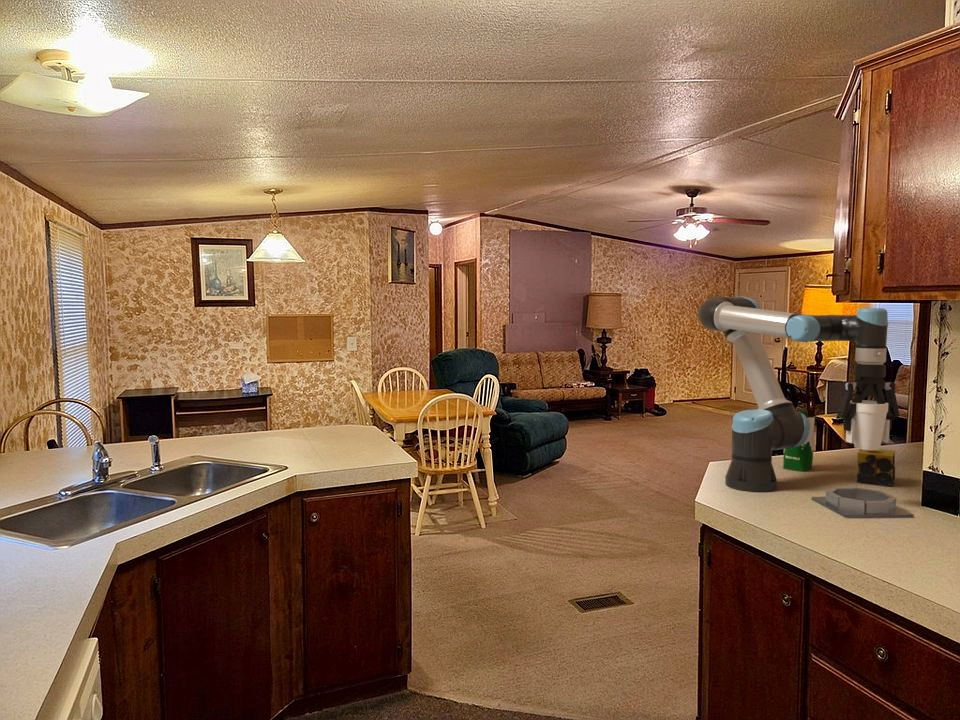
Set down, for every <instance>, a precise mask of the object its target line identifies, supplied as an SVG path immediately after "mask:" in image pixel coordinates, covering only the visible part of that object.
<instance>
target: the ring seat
mask: <svg viewBox="0 0 960 720" xmlns="http://www.w3.org/2000/svg"><path fill="white" fill-rule="evenodd" d="M811 500H812V501H814V502H815V503H817V504H819V505H821V506H822V507H825V508H827V509H829V510H830V511H832V512H834V513H836V514H838V515H840V516H842V518H843V517H844V518H846V519H880V518H882V519H883V518H884V519H889V518H890V519H891V518H892V519H893V518H894V519H895V518H897V519H899V518H901V519H902V518H905V519H906V518H911V519H912V518H915V516H914V514H913V513H911V512H909V511H907V510H904V509H902V508H900V507H898V506H897V497H896V496H894V495H892V494H889V493H887V492H884V491H882V490H876V489H869V488H863V487H858V486H857V487H856V486H852V487H851V486H849V487H848V486H843V487H842V486H836V487H835V486H834V487H831V488H830V489H827V490H826V491H825V496H811Z"/></svg>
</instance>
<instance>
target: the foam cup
mask: <svg viewBox="0 0 960 720" xmlns="http://www.w3.org/2000/svg"><path fill="white" fill-rule="evenodd" d="M850 403H851V402H850ZM852 404H855V403H854V402H852ZM887 412H888V403H885V404H877V402H876V400H871V399H870V400H869V399H867V400H865V399H863V400H862V402H861V403H856V413H855V415H854V417H853V418H852V420H855V437H854V443H853V445H854V446H853V447H854V448H855V449H857V450H860V449H864V450H880V449H881V446H882V436H883V431H884V426H885V420H886V415H887Z"/></svg>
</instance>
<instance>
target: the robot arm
mask: <svg viewBox="0 0 960 720" xmlns="http://www.w3.org/2000/svg"><path fill="white" fill-rule="evenodd" d="M697 313H698V315H697V316H698V320H699V323H700V324H701V325H702V326H703V327H704V328H705V329H707V330H709V331H713V332H714V331H715V332H723V334H724V337H725V339H726V341H727V342H730V343H732V344H733V346H734V349H735V352H736V354H737V356H738V357H737V358H738V359H739V362H740V364H741V367H742V370H743V371H744V375H745V376H746V379H747V382H748V384H749V387H750V390H751V392H752V395H753V397H754V400H755V402H756V405H757V408H755V409H746V410H741V411H738V412H736V413H735V414H734V415H733V416H732V417H733V418H732V424H731V461H730V463H729V467H728V470H727V472H726V474H725V481H724V482H725V485H726V486H727V487H729V488H732V489H735V490H741V491H747V492H761V493H762V492H772V491H775V490H777V489H778V479H777V476H776V472H775V469H774V466H773V462H772V461H773V451H778V450H784V449H791V448H793V447H798V446H800V445H802V444H803V443H804V442H805V441H806V440H807V437H808V435H809V431H810V426H809V422H808V419H807V418H806V416H805V415H804V414H802V413H800V412H799V411H796V409H795V406H794V404H793V402H792V401H790V400H788V399H786V397H785V395H784V393H783V391H782V388H781V385H780V383H779V380H778V378H777V376H776V374H775V371H774V369H773V367H772V364H771V361H770V359H769V356H768V354H767V352H766V349H765V346H764V344H763V342H762V340H761V337H760V335H767V336H772V337H778V338H785V339H791V340H792V341H793V342H798V343H799V342H800V343H809V342H811V343H812V342H855V355H854V361H855V362H856V364H855V365H854V376H855V379H854V381H853V382H844V383H843V392H842V393H843V394H842V396H841V401H840V404H839V406H838V411H837V417H839V418H842V419H843V431H845V442H846V443H849V444H854V437H855V420H852V418H853V417H854V415H855V413H856V403H861V402H862V400H865V399H866V398H867V397H872V398H874V399H875V400H874V401H876V402H877V404H885V403H888V412H887V415H886V420H885V426H884V431H883V436H882V441H881V443H885V444H889V443H890V431H892V428H893V421H894V420H896V418H899V417H900V409H899V405H898V400H897V396H896V383H894V382H890V381H887V382H886V381H885V378H886V374H887V373H886V372H887V369H886V368H887V366H886V365H885V363H886V362H887V343H888V342H887V339H888V329H889V328H888V327H889V321H888V310H887V309H886V308H883V307H882V308H880V307H879V308H878V307H877V308H875V307H874V308H872V307H871V308H869V307H868V308H867V307H866V308H865V307H864V308H858V309H857V311H856V314H855V315H854V314H853V315H851V314H849V315H848V314H845V315H843V314H822V315H821V314H820V315H819V314H818V315H817V314H815V315H814V314H805V313H804V314H803V313H795V312H787V311H778V310H771V309H770V310H769V309H763V308H761V306H760V304H759V303H758V302H757V301H756V300H754V299H753V298H751V297H745V296H741V295H740V296H713V297H709V298H707V299H706V300H704V302H702V304H701V305H700V306H699V309H698V312H697ZM759 334H760V335H759ZM855 389H856V391H855ZM883 389H884V392H883ZM854 391H855V392H854ZM884 393H885V394H884ZM885 398H886V399H885ZM850 402H851V403H850ZM852 402H854V403H855V404H852Z"/></svg>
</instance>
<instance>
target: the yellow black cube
mask: <svg viewBox="0 0 960 720" xmlns="http://www.w3.org/2000/svg"><path fill="white" fill-rule="evenodd" d="M895 455H896V450H892V449H891V450H890V449H881V448H880V450H864V449H858V451H857V470H856V471H857V472H856V483H858V484H863V485H864V484H865V485H870V486H871V485H873V486H880V487H887V488H888V487H891V488H893V487H894V485H895V480H896V467H895Z"/></svg>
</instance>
